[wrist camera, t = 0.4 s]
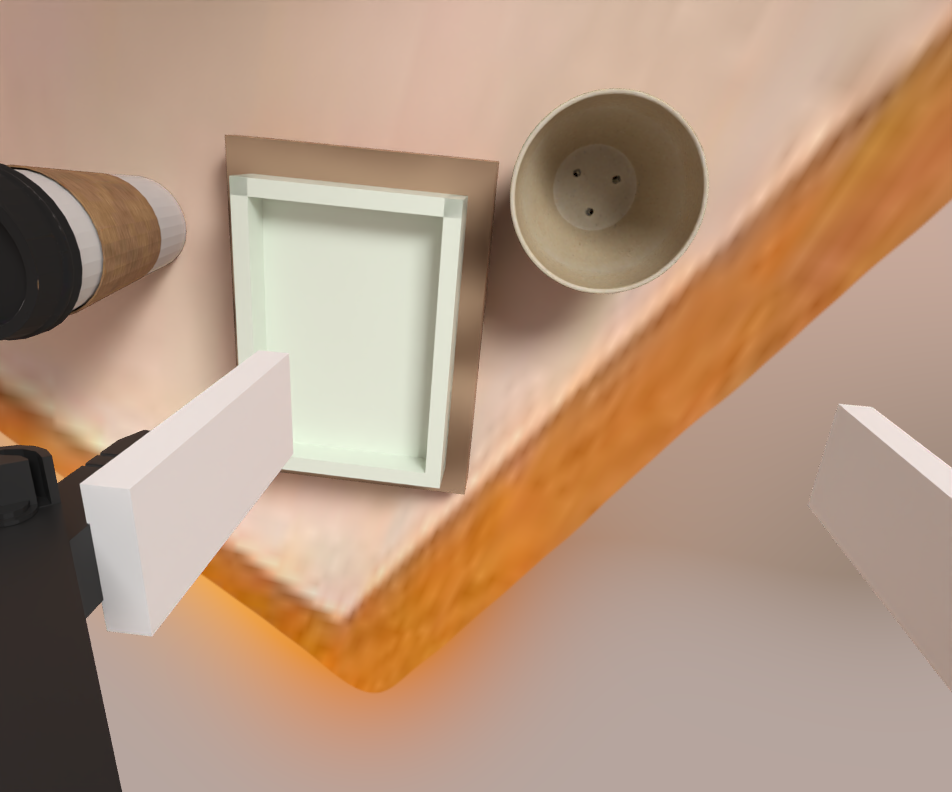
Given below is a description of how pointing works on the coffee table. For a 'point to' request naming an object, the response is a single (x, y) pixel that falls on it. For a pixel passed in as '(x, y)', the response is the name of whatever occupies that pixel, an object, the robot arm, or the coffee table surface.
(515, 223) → the flower pot
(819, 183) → the coffee table surface
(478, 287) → the shelf board
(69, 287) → the coffee cup
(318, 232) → the tray
